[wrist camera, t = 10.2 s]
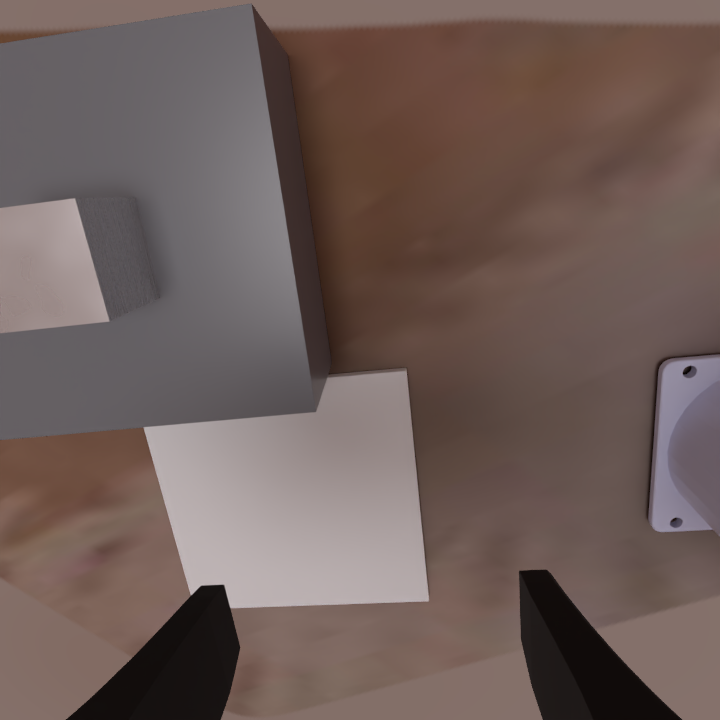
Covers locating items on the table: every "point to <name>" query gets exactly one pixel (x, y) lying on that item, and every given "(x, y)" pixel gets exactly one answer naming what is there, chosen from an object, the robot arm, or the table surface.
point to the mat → (301, 499)
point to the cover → (154, 229)
